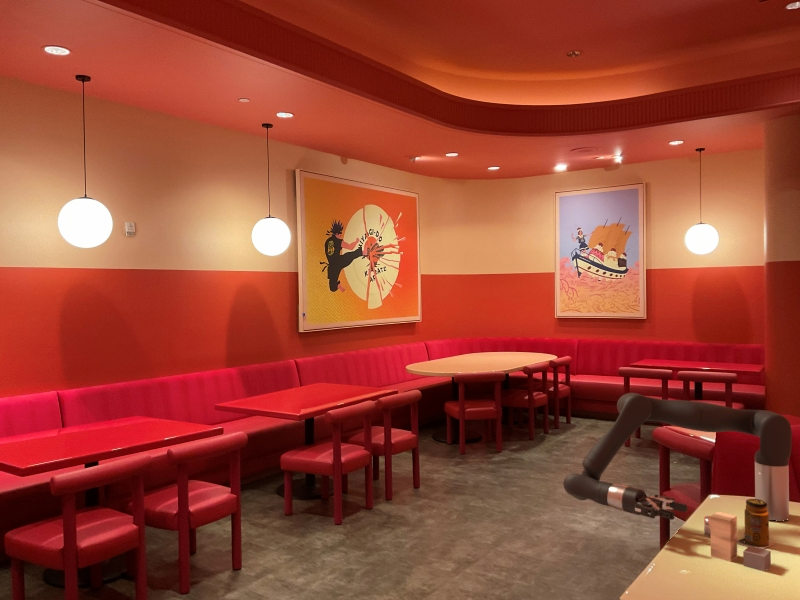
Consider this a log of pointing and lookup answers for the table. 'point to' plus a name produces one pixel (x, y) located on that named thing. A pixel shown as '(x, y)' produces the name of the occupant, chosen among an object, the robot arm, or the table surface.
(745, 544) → the condiment
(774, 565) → the table surface
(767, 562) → the rubber block
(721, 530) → the maple block
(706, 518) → the metal cylinder
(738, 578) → the table surface
